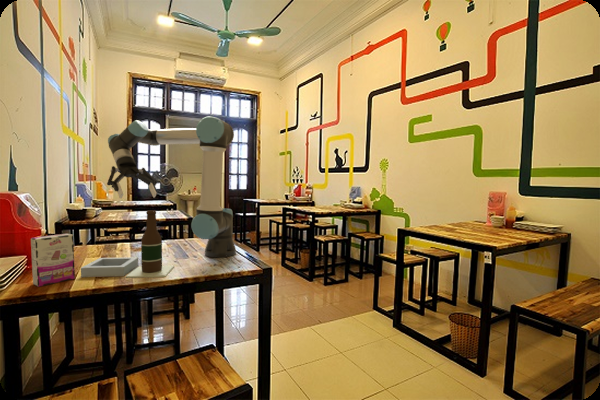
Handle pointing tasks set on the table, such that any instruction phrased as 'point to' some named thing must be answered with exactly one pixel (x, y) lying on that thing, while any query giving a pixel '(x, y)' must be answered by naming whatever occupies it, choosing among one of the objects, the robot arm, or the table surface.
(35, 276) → the candy bar box
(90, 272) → the grey square tray
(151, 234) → the beer bottle
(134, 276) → the mat
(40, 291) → the table surface
